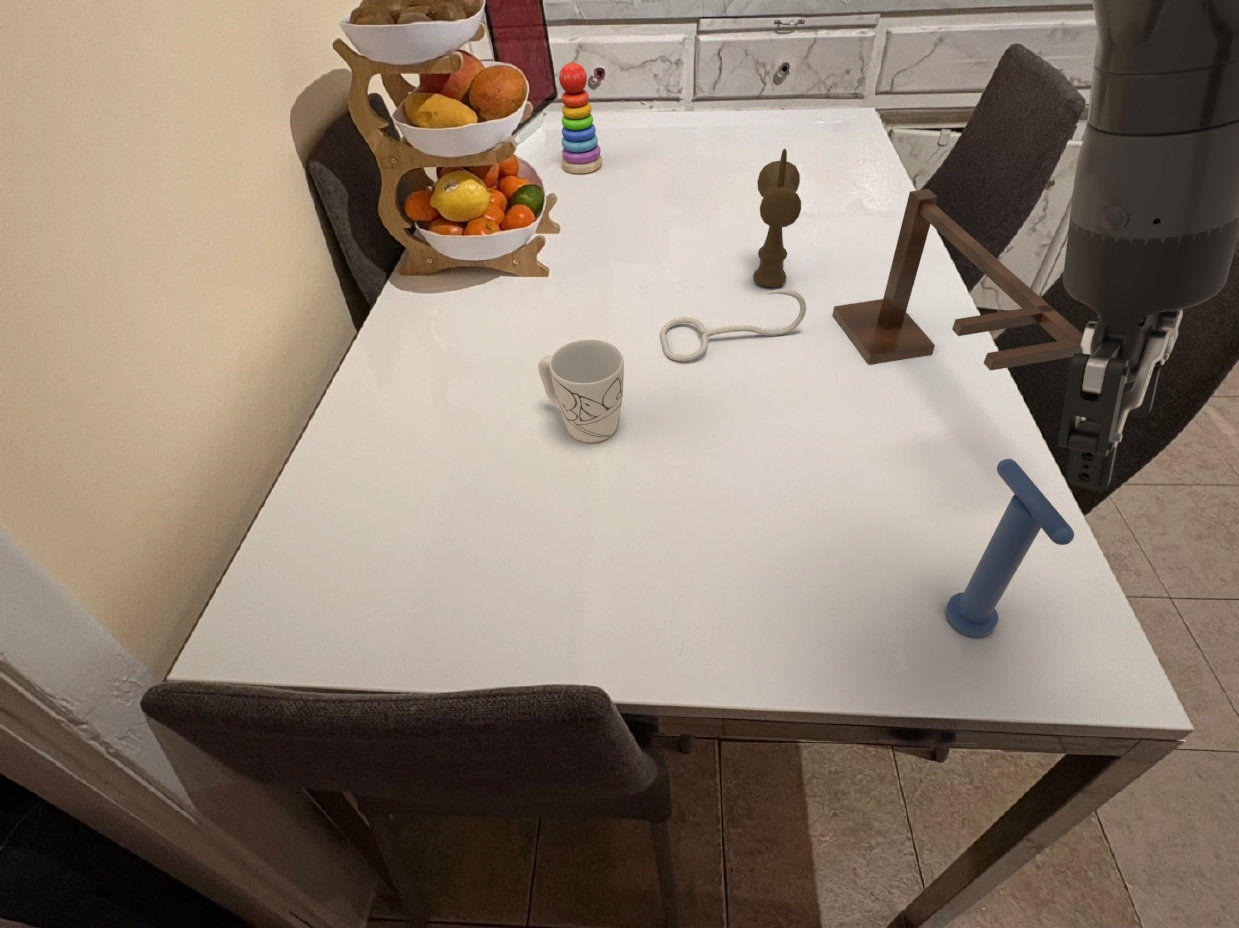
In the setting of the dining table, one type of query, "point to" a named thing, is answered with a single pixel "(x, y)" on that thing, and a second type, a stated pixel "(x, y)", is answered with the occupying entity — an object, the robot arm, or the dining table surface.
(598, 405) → the mug
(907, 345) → the stand
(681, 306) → the dining table surface
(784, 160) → the kendama
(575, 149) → the stacking toy
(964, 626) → the peg
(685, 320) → the hook
